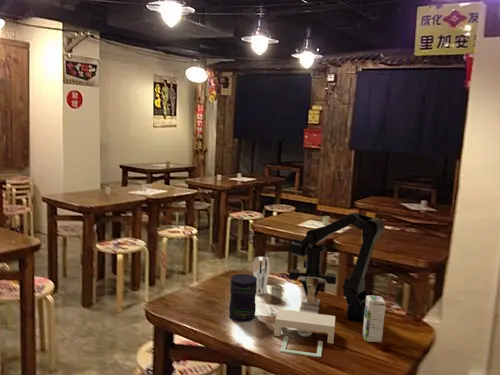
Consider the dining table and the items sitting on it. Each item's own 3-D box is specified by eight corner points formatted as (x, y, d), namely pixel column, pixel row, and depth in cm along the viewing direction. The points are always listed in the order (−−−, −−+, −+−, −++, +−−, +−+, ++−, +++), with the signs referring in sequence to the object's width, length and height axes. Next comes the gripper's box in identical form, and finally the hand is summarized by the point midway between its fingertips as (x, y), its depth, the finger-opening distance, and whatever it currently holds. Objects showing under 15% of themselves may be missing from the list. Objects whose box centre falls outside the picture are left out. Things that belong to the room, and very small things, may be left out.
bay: (322, 342, 160) (322, 341, 160) (321, 357, 150) (321, 356, 150) (284, 337, 163) (284, 335, 163) (279, 351, 152) (280, 350, 152)
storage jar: (260, 319, 176) (262, 280, 174) (237, 324, 171) (239, 284, 169) (246, 309, 185) (248, 272, 183) (224, 314, 179) (225, 276, 177)
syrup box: (361, 334, 168) (365, 294, 166) (378, 335, 168) (382, 295, 166) (365, 341, 162) (368, 301, 160) (382, 342, 162) (386, 302, 160)
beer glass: (256, 296, 199) (257, 261, 197) (249, 290, 206) (251, 256, 203) (271, 294, 202) (273, 260, 200) (264, 289, 208) (265, 255, 206)
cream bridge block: (334, 332, 169) (335, 316, 168) (333, 343, 160) (334, 326, 159) (278, 324, 172) (278, 309, 172) (274, 335, 164) (275, 319, 163)
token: (312, 332, 168) (312, 328, 168) (311, 338, 163) (311, 334, 163) (298, 330, 169) (298, 326, 169) (296, 336, 164) (296, 332, 164)
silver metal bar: (302, 301, 197) (303, 283, 196) (319, 303, 196) (320, 285, 195) (296, 325, 174) (298, 305, 172) (316, 327, 172) (317, 307, 171)
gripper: (337, 256, 197) (335, 292, 199) (292, 251, 201) (290, 287, 203) (337, 264, 186) (334, 302, 189) (289, 259, 190) (287, 296, 192)
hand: (311, 296), depth 193 cm, fingers closed on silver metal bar, 3 cm apart
